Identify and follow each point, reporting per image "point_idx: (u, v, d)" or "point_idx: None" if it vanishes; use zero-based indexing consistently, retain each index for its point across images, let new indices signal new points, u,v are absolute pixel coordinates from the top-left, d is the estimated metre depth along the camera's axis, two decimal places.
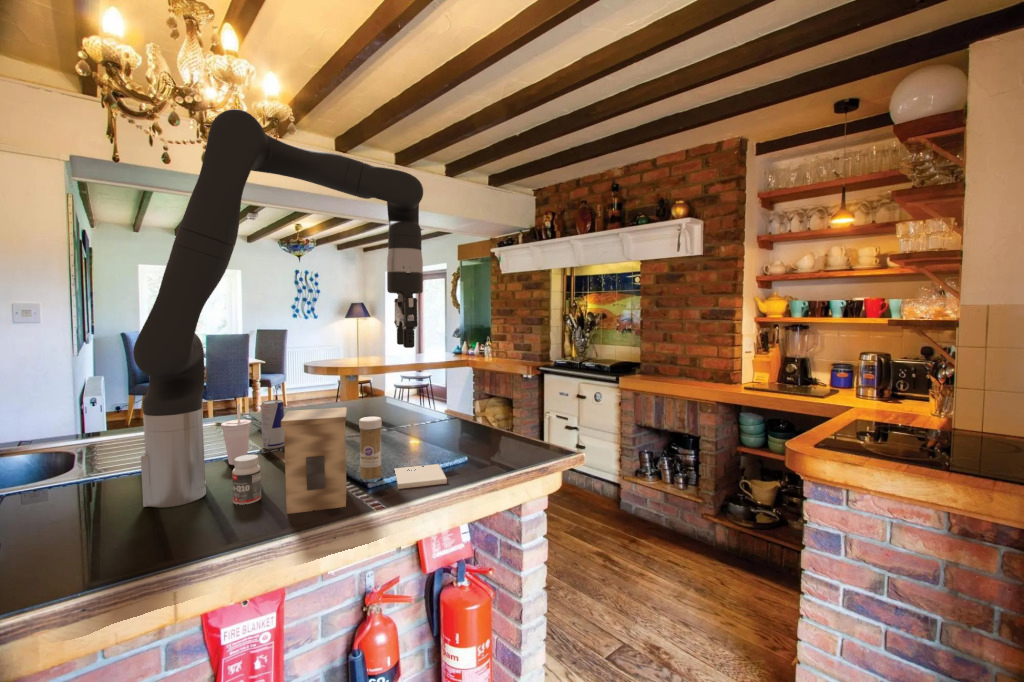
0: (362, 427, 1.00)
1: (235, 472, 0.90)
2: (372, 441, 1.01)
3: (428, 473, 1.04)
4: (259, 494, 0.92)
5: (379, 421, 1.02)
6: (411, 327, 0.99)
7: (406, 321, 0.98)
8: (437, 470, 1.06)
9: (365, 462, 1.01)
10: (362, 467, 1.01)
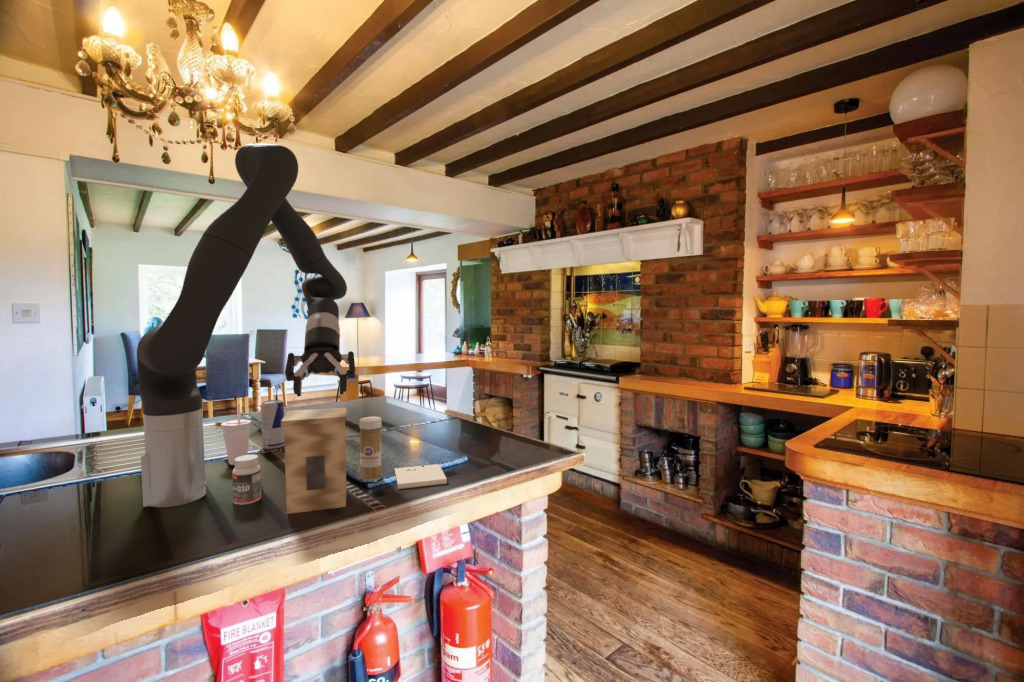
0: (362, 427, 1.00)
1: (235, 472, 0.90)
2: (372, 441, 1.01)
3: (428, 473, 1.04)
4: (259, 494, 0.92)
5: (379, 421, 1.02)
6: (351, 376, 1.07)
7: None
8: (437, 470, 1.06)
9: (365, 462, 1.01)
10: (362, 467, 1.01)
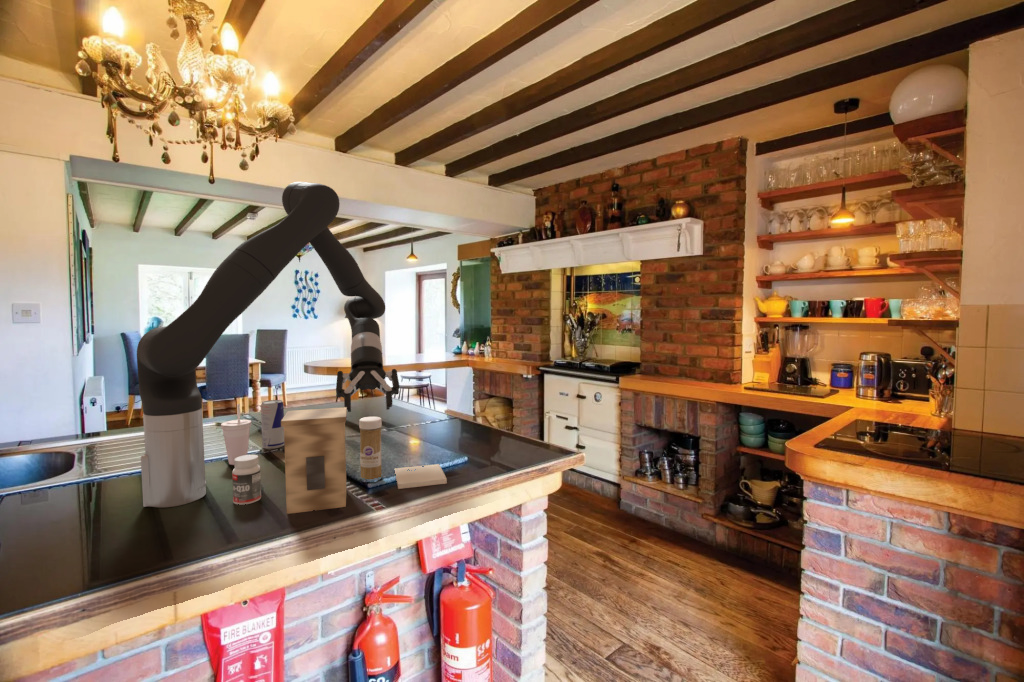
0: (362, 427, 1.00)
1: (235, 472, 0.90)
2: (372, 441, 1.01)
3: (428, 473, 1.04)
4: (259, 494, 0.92)
5: (379, 421, 1.02)
6: (395, 392, 1.15)
7: None
8: (437, 470, 1.06)
9: (365, 462, 1.01)
10: (362, 467, 1.01)
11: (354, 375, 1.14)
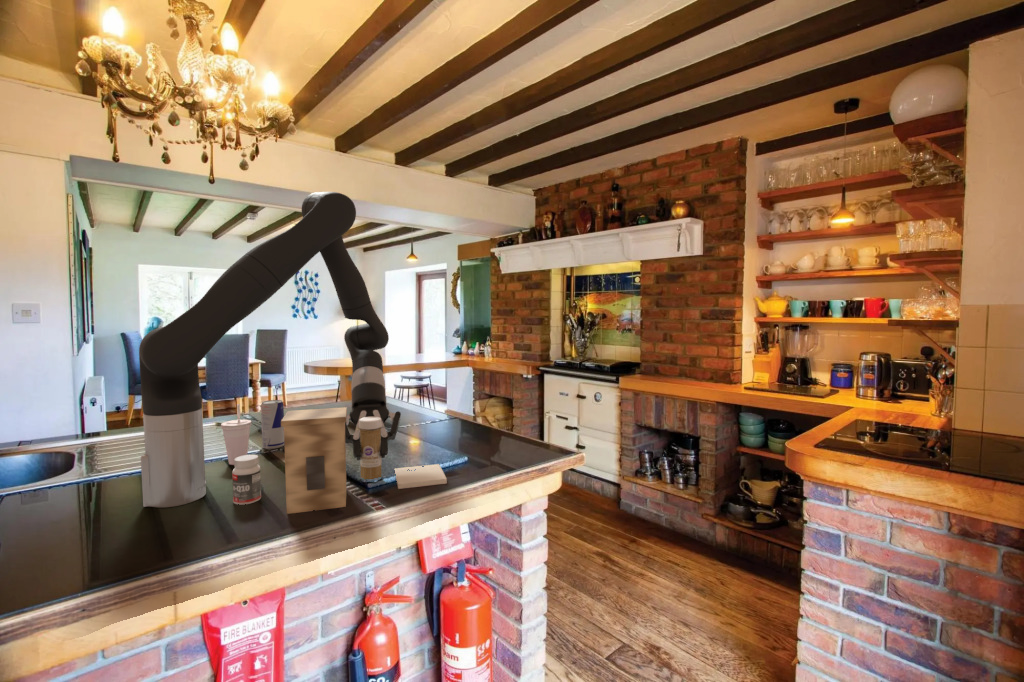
0: (362, 427, 1.00)
1: (235, 472, 0.90)
2: (372, 441, 1.01)
3: (428, 473, 1.04)
4: (259, 494, 0.92)
5: (379, 421, 1.02)
6: (391, 438, 1.05)
7: (396, 430, 1.05)
8: (437, 470, 1.06)
9: (364, 462, 1.01)
10: (362, 467, 1.01)
11: (356, 415, 1.05)
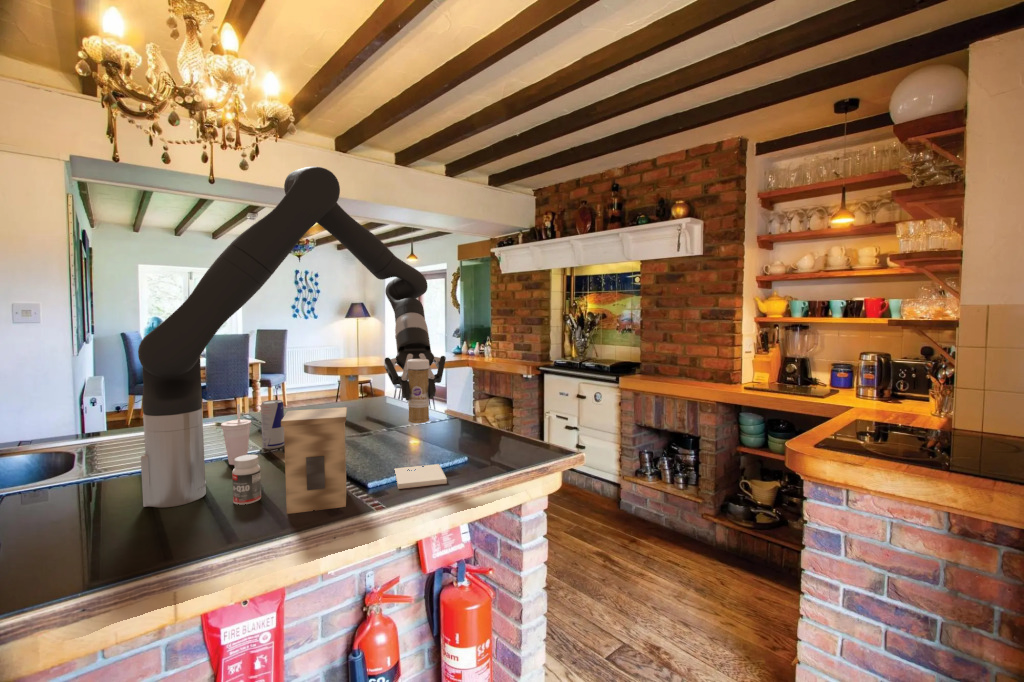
0: (411, 367, 1.01)
1: (235, 472, 0.90)
2: (421, 382, 1.01)
3: (428, 473, 1.04)
4: (259, 494, 0.92)
5: (427, 362, 1.02)
6: (438, 380, 1.06)
7: (442, 373, 1.06)
8: (437, 470, 1.06)
9: (413, 403, 1.01)
10: (410, 407, 1.02)
11: (402, 358, 1.06)
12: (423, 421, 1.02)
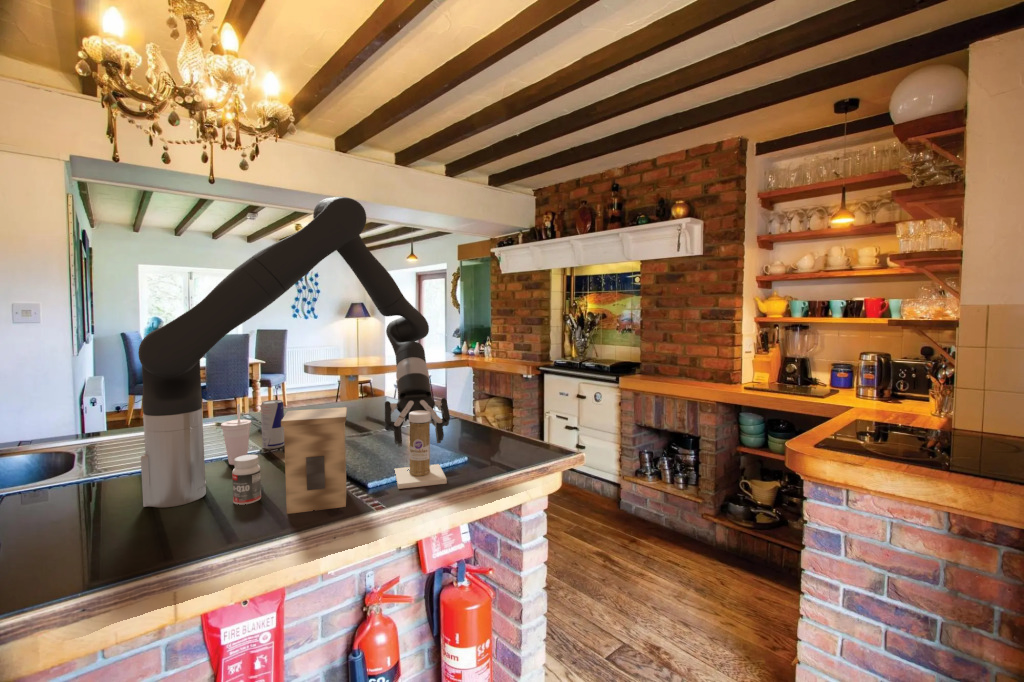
0: (412, 420, 1.02)
1: (235, 472, 0.90)
2: (422, 435, 1.02)
3: None
4: (259, 494, 0.92)
5: (428, 415, 1.03)
6: (445, 424, 1.07)
7: None
8: (437, 470, 1.06)
9: (414, 455, 1.02)
10: (411, 460, 1.03)
11: (402, 405, 1.06)
12: (424, 474, 1.03)
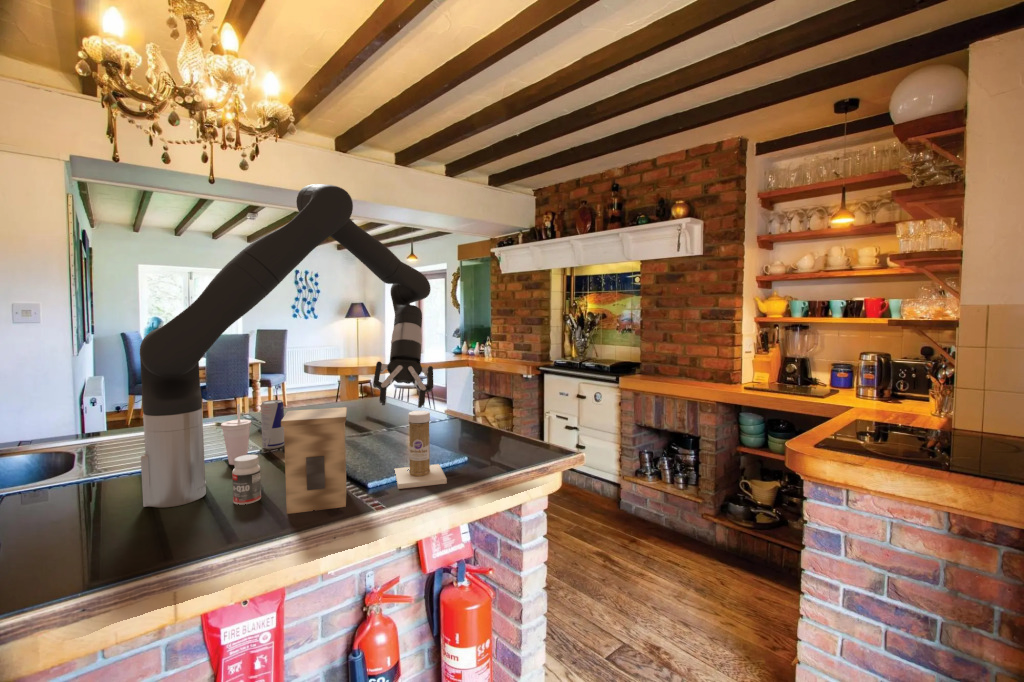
0: (412, 421, 1.02)
1: (235, 472, 0.90)
2: (421, 435, 1.02)
3: None
4: (259, 494, 0.92)
5: (428, 415, 1.03)
6: (428, 390, 1.19)
7: None
8: (437, 470, 1.06)
9: (414, 456, 1.02)
10: (411, 460, 1.03)
11: (392, 368, 1.17)
12: (424, 474, 1.03)
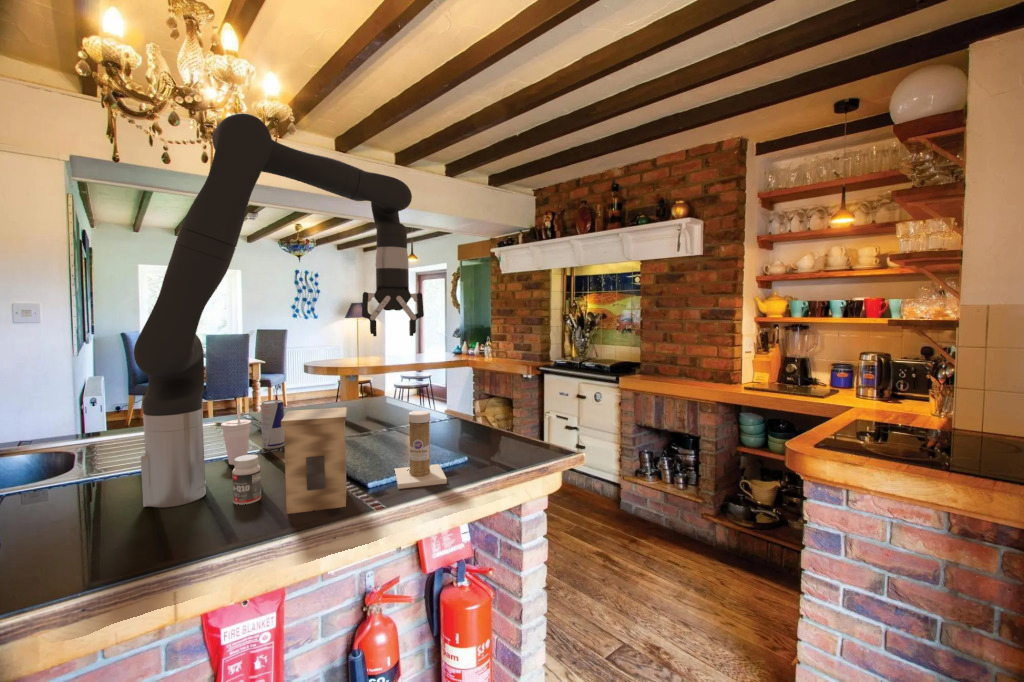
0: (412, 421, 1.02)
1: (235, 472, 0.90)
2: (421, 435, 1.02)
3: None
4: (259, 494, 0.92)
5: (428, 415, 1.03)
6: (419, 317, 1.17)
7: None
8: (437, 470, 1.06)
9: (414, 456, 1.02)
10: (411, 460, 1.03)
11: (379, 298, 1.13)
12: (424, 474, 1.03)
